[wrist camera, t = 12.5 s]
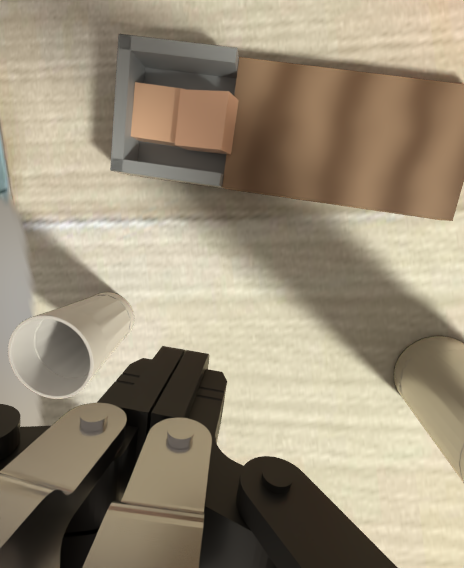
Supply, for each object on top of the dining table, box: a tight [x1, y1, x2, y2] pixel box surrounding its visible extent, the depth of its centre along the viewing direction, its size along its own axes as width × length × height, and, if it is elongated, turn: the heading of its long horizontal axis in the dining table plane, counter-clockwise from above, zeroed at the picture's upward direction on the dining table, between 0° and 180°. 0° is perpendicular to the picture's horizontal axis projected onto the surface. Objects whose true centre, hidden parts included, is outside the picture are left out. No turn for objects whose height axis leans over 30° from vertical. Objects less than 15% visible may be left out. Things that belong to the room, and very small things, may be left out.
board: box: [222, 57, 464, 221], centre depth 35 cm, size 23×12×2 cm, turn 82°
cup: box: [8, 292, 134, 399], centre depth 37 cm, size 8×8×12 cm
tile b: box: [131, 82, 182, 147], centre depth 35 cm, size 5×5×2 cm
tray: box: [110, 34, 239, 189], centre depth 35 cm, size 11×12×4 cm
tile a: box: [175, 89, 239, 155], centre depth 34 cm, size 5×5×2 cm
